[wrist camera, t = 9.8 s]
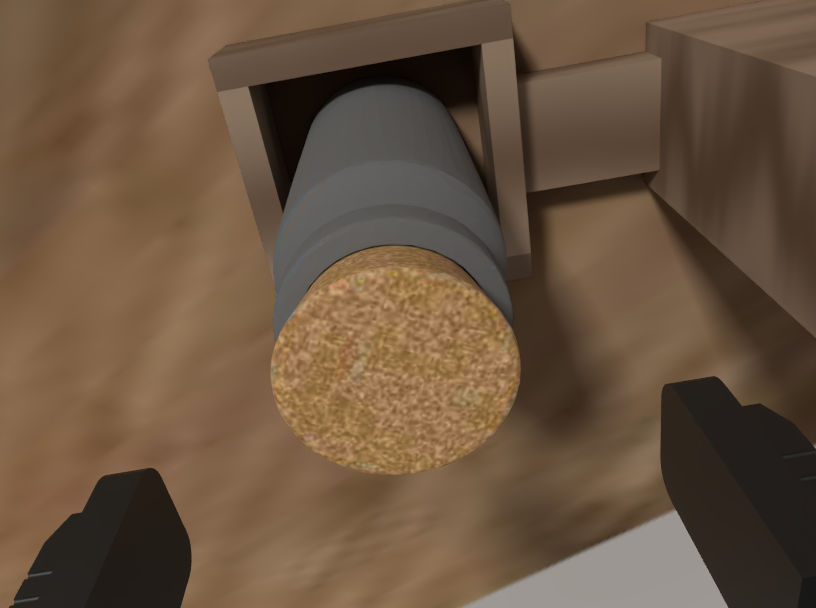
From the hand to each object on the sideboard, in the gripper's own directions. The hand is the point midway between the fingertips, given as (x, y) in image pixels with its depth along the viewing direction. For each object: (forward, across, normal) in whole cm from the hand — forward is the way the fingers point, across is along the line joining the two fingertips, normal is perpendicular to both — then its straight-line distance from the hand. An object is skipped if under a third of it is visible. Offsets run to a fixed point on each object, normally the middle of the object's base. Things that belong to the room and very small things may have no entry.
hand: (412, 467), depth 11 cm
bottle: (+17, 0, 0) cm, 17 cm away
